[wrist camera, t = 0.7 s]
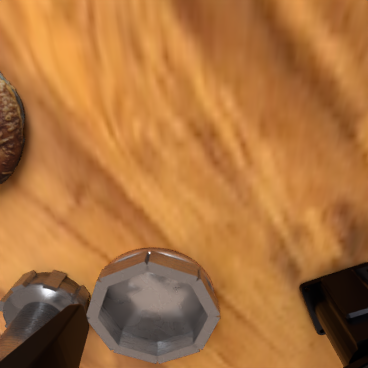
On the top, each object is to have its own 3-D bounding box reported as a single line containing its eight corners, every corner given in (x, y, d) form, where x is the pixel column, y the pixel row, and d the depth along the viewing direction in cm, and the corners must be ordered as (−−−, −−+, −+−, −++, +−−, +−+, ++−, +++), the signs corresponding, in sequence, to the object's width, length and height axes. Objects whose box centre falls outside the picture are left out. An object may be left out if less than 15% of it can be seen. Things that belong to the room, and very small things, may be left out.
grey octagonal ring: (231, 320, 26) (235, 341, 23) (132, 351, 27) (127, 374, 25) (184, 229, 22) (183, 245, 20) (74, 272, 24) (63, 291, 22)
